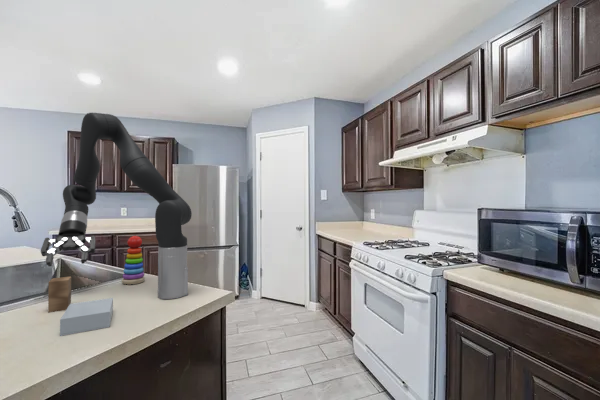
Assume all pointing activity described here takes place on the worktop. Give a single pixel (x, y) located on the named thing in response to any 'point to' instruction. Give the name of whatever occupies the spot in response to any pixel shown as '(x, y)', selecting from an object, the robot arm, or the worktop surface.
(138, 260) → the stacking toy
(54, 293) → the walnut block
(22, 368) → the worktop surface
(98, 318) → the slate slab
